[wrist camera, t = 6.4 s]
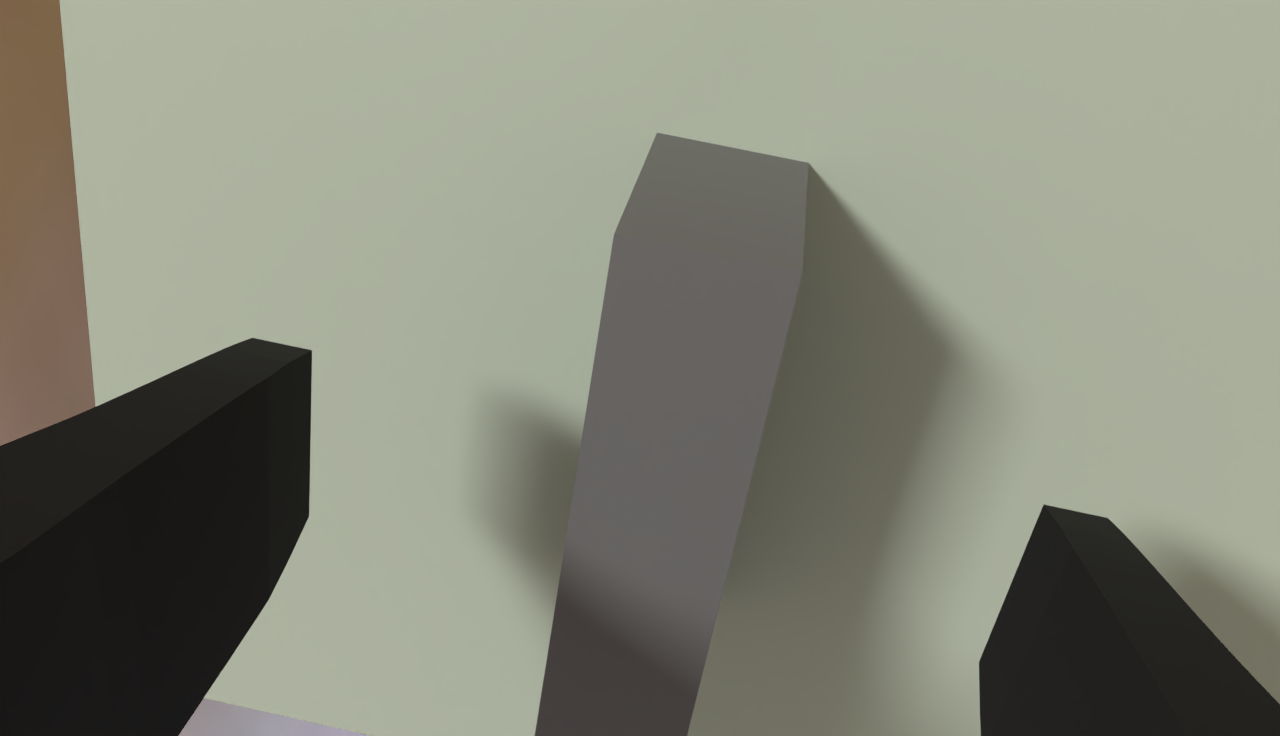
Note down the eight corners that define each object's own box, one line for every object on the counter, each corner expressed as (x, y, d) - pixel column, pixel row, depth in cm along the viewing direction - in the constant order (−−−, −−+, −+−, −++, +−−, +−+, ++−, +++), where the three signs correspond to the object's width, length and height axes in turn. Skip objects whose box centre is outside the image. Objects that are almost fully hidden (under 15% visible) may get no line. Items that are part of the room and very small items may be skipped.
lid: (1358, 903, 17) (1482, 1180, 14) (153, 633, 18) (4, 833, 15) (2045, -42, 11) (2587, 66, 7) (84, -397, 12) (-215, -446, 8)
